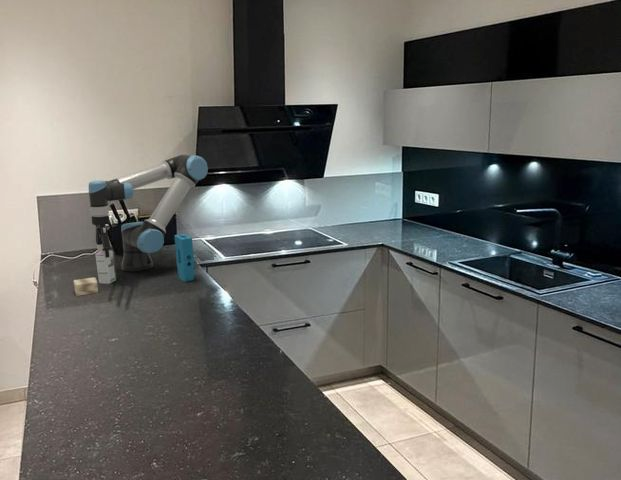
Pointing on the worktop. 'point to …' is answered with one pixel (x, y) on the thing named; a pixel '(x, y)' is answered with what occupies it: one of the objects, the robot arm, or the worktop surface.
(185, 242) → the block
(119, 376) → the worktop surface
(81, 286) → the birch block
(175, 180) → the robot arm
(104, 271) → the syrup box
